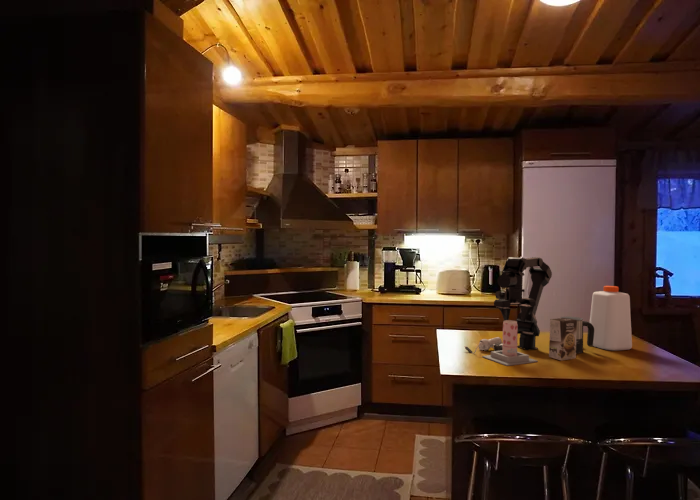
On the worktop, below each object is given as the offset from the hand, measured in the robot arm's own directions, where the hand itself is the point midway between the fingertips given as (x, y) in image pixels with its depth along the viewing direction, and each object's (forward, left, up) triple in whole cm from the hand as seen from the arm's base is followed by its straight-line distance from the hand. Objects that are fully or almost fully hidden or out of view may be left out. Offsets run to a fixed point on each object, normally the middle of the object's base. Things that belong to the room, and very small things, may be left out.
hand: (514, 322), depth 200 cm
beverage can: (+10, +8, -13) cm, 18 cm away
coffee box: (-13, +14, -13) cm, 23 cm away
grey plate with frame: (+10, +8, -13) cm, 18 cm away
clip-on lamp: (+10, -5, -13) cm, 18 cm away
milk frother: (-29, +5, -13) cm, 32 cm away
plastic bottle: (-50, +8, -13) cm, 52 cm away
